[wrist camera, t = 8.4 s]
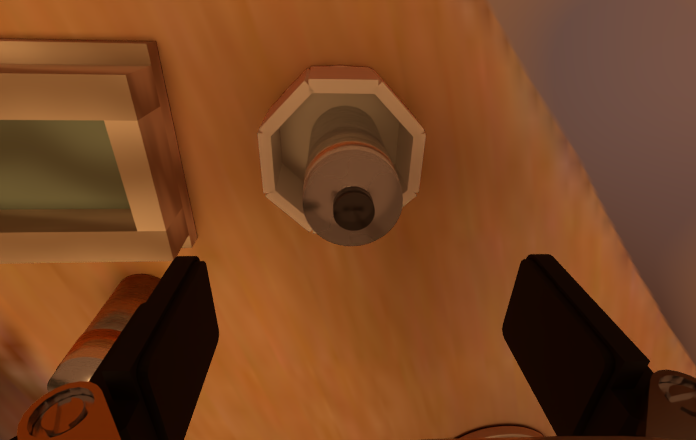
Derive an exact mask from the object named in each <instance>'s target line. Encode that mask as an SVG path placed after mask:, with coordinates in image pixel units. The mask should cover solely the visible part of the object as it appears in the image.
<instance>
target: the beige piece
mask: <svg viewBox="0 0 696 440" xmlns="http://www.w3.org/2000/svg"><path fill="white" fill-rule="evenodd" d="M337 106H353V107H356V108H359V109H361V110H363V111H364V112H366V113H367V114H368V115H369V116H370V117H371V118H372V119H373V121H374V122H375V124H376V127H377V129H378V131H379V134H380V136H381V139H382V141H383V144H384V146H385V149H386V151H387V153H388V154H389V156H390V159H391V161H392V163H393V166H394V168H395V171H396V173H397V176H398V178H399V182H400V186H401V190H402V195H403V206H402V207H404V206H405V205H406V204H407V203H408V202H410V201H411V200H412V199H413V198H415V197H416V196H417V195H416V193H419V186H420V178H421V170H422V162H423V154H424V147H425V139H426V133H425V132H424V131H425V130H424V129H423V127H422V126H421V125H420V123H419V122H418V121H417V120H416V118H415V117H414V116H413V115H412V113H411V112H410V111H409V110H408V108H407V107H406V106H405V105H404V104H403V103H402V101H401V100H400V99H399V98H398V97H397V96H396V95H395V93H394V92H393V91H392V90H391V89H390V87H389V86H388V85H387V84H386V83H385V82H384V81H383V80H382V78H381V77H380V76H379V75H378V74H377V73H376V72H375V70H374V69H372V70H371V68H370V67H352V66H346V65H332V66H311V69H310V70H309V69H308V68H307V69H306V70H305V71H304V72H303V73H302V74H301V75H300V77H299V78H298V79H297V80H296V81H295V82H293V83H292V84H291V85H290V86H289V87H288V89H287V90H286V91H285V92H284V94H283V95H282V96H281V97H280V98H279V99H278V100H277V101H276V103H275V104H274V105H273V106H272V107H271V108H270V109H269V111H268V112H267V114H266V116H265V118H264V120H263V122H262V124H261V126H260V128H259V131H258V133H257V134H258V144H259V154H260V164H261V174H262V184H263V193H266V195H265V197H267V198H268V199H269V200H270V201H272V202H273V203H274V204H275V205H276V206H278V207H279V208H280V209H281V210H283V211H284V212H285V213H286V214H288V215H289V216H290V217H291V218H292V219H294V220H295V221H296V222H297V223H299V224H300V225H301V226H302V227H304V228H305V229H306V230H307V231H308V232H310V231H312V230H313V229H312V228H311V227H310V225H309V224H308V222H307V220H306V218H305V215H304V211H303V196H302V193H303V183H304V175H305V168H306V164H307V160H308V151H309V143H310V135H311V130H312V127H313V125H314V123H315V122H316V120H317V119H318V118H319V116H320V115H322V114H323V113H324V112H325V111H327V110H329V109H331V108H334V107H337ZM313 233H316V232H315V231H314V230H313Z"/></svg>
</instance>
